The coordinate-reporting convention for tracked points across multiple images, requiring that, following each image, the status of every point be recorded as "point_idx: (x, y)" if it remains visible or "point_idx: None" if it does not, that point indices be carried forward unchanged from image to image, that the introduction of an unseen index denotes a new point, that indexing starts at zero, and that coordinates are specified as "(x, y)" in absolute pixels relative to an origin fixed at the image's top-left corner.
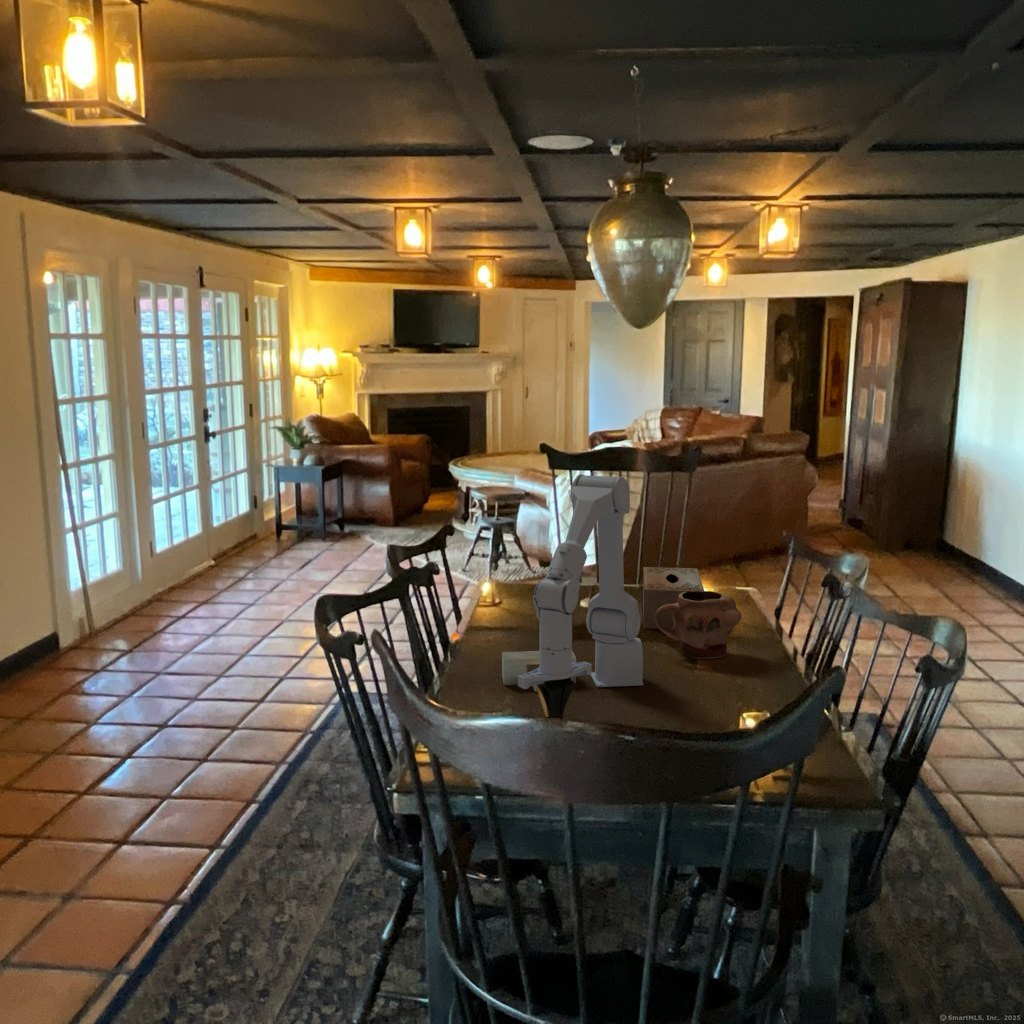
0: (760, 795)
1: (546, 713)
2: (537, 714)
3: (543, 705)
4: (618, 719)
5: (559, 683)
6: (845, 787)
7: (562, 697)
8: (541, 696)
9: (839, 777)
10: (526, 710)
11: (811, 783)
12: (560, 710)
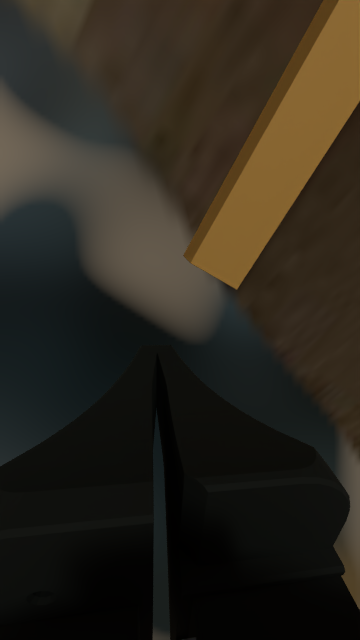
0: None
1: (187, 254)
2: (173, 193)
3: (252, 135)
4: (350, 393)
5: (175, 629)
6: None
7: (166, 512)
8: (325, 12)
9: None
10: (158, 97)
11: None
12: (159, 428)
